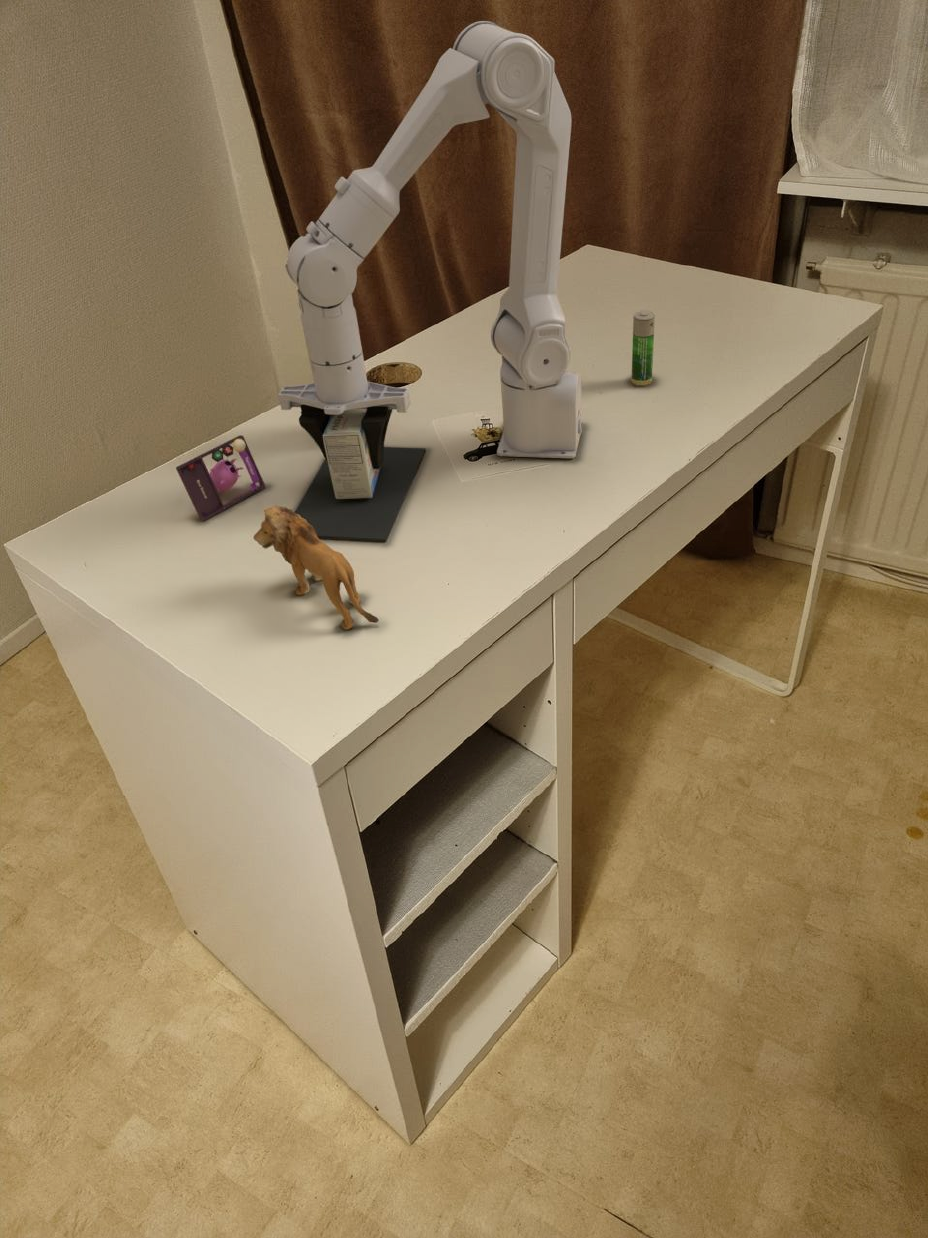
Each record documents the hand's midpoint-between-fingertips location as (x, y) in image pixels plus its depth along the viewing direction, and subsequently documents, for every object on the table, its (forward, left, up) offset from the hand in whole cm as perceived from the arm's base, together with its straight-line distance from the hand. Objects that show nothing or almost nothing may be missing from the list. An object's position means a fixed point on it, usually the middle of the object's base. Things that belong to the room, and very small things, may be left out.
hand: (356, 463), depth 110 cm
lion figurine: (-2, +20, -3) cm, 21 cm away
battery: (-31, -28, -3) cm, 42 cm away
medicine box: (0, 0, -3) cm, 3 cm away
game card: (+16, +3, -3) cm, 17 cm away
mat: (0, +1, -3) cm, 3 cm away
